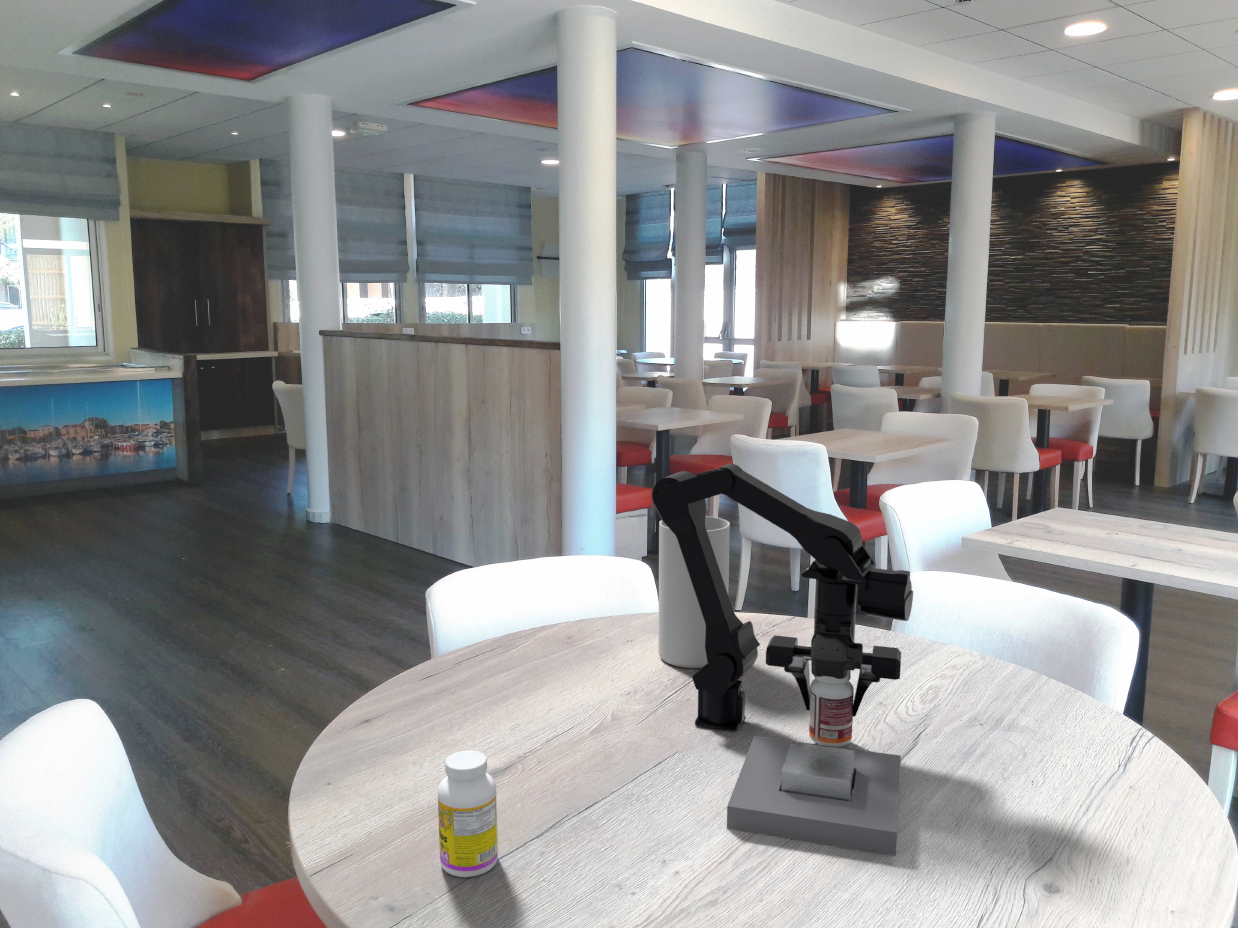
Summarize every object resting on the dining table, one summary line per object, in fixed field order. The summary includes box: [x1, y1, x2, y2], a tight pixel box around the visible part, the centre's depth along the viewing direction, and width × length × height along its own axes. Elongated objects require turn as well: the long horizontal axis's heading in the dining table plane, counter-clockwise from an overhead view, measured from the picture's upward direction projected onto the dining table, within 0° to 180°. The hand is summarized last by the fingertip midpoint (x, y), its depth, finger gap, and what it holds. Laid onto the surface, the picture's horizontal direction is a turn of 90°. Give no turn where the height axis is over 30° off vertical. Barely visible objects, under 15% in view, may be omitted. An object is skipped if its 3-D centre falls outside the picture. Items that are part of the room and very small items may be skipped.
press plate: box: [726, 735, 902, 857], centre depth 124 cm, size 20×20×3 cm
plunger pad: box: [781, 742, 855, 802], centre depth 124 cm, size 8×8×3 cm
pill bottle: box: [808, 670, 855, 747], centre depth 139 cm, size 6×6×11 cm
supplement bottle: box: [437, 750, 499, 878], centre depth 110 cm, size 7×7×13 cm
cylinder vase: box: [657, 515, 731, 669], centre depth 172 cm, size 12×12×25 cm
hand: (831, 712), depth 139 cm, fingers closed on pill bottle, 6 cm apart
